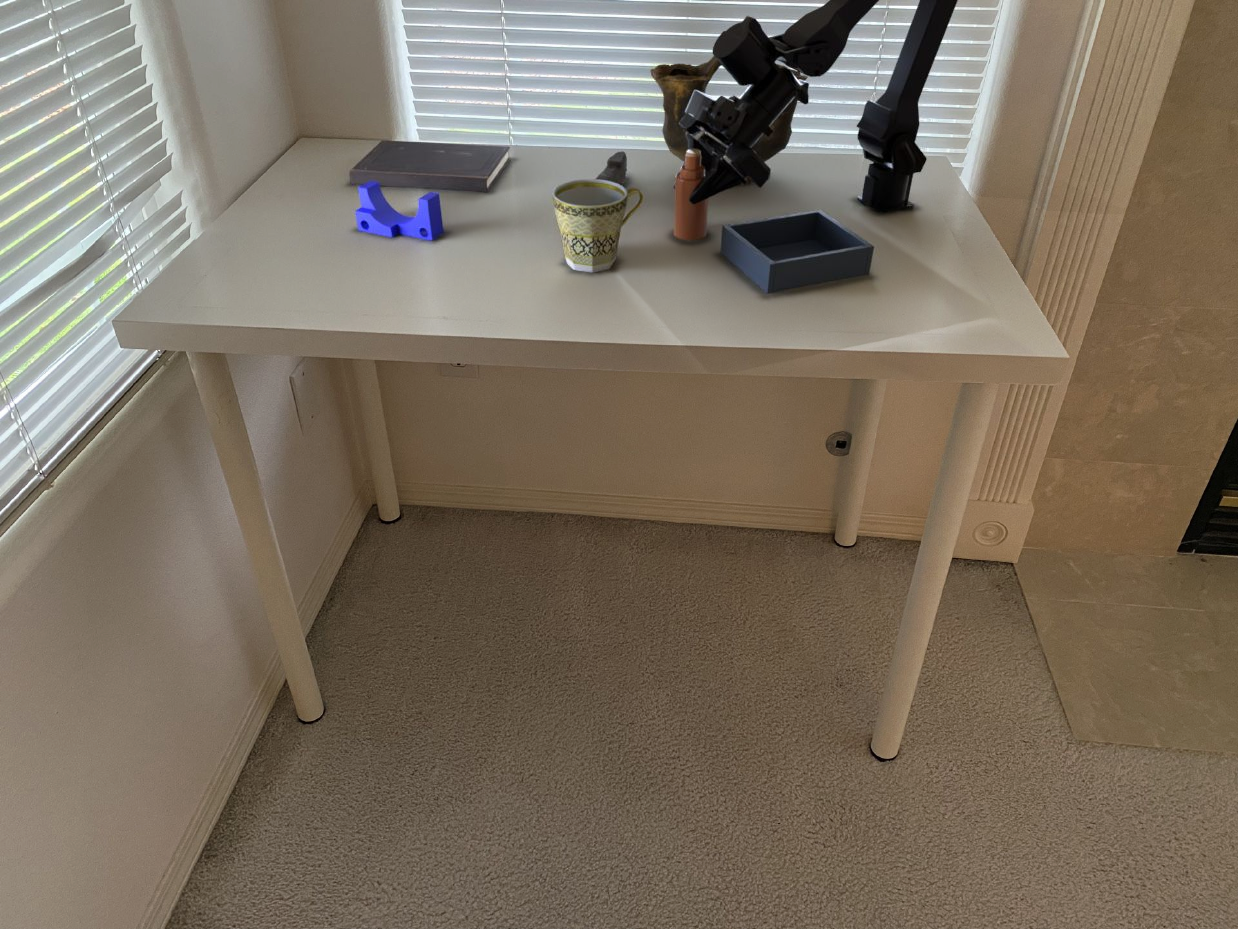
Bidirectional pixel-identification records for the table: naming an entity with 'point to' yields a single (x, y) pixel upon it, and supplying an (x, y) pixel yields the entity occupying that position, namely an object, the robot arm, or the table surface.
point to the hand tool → (615, 169)
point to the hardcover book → (431, 165)
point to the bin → (796, 250)
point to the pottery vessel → (688, 78)
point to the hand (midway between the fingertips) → (683, 195)
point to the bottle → (687, 215)
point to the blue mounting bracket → (398, 215)
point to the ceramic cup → (591, 221)
